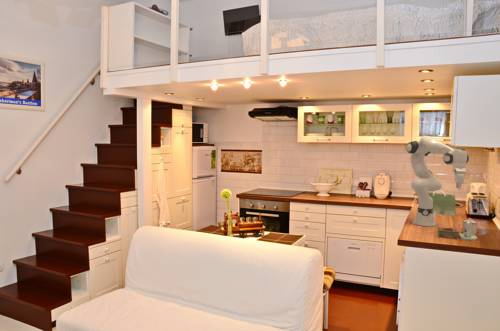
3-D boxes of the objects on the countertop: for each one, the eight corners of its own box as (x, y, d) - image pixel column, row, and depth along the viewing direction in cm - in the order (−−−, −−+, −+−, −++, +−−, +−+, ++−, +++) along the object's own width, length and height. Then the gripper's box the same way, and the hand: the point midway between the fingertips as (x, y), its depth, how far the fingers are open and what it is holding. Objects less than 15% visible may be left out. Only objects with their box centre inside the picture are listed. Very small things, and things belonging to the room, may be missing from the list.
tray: (458, 235, 285) (458, 233, 285) (474, 237, 281) (474, 234, 281) (460, 239, 274) (461, 236, 274) (477, 241, 270) (477, 238, 270)
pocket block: (437, 233, 290) (438, 227, 290) (455, 235, 286) (456, 228, 286) (439, 237, 279) (439, 230, 279) (457, 239, 275) (458, 232, 274)
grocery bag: (453, 213, 377) (454, 189, 375) (456, 216, 363) (457, 191, 362) (418, 211, 386) (419, 188, 385) (419, 213, 373) (421, 189, 371)
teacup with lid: (474, 232, 296) (475, 217, 295) (477, 235, 287) (478, 220, 286) (457, 231, 300) (458, 216, 299) (459, 233, 291) (460, 218, 291)
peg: (463, 235, 281) (464, 221, 280) (470, 236, 279) (471, 221, 278) (464, 237, 277) (465, 222, 276) (471, 237, 275) (472, 222, 274)
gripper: (453, 168, 293) (452, 186, 294) (456, 170, 274) (455, 189, 275) (462, 169, 291) (461, 187, 292) (466, 171, 272) (465, 190, 273)
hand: (458, 188), depth 283 cm, fingers open, 8 cm apart
